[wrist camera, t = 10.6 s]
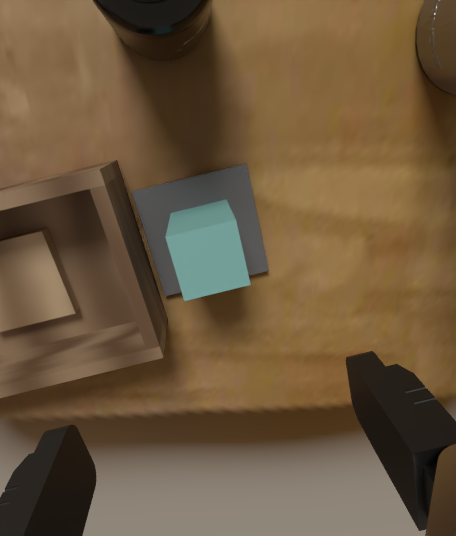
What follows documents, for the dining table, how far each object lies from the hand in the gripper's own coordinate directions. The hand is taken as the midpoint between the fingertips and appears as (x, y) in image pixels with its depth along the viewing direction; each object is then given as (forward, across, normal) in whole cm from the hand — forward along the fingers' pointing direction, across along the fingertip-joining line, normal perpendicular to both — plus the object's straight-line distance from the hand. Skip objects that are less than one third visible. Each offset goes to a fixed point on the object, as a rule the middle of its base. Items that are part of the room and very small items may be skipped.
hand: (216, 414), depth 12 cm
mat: (+22, 0, 0) cm, 22 cm away
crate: (+22, +15, 0) cm, 27 cm away
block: (+22, 0, 0) cm, 22 cm away
